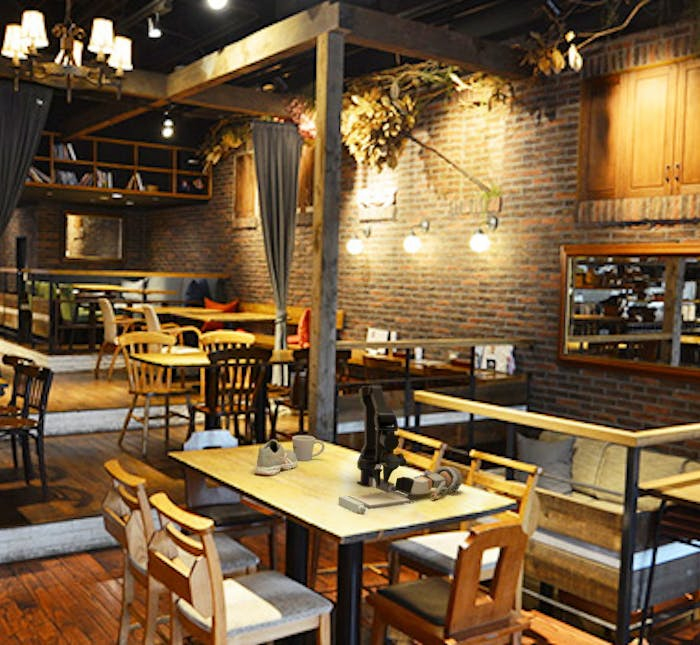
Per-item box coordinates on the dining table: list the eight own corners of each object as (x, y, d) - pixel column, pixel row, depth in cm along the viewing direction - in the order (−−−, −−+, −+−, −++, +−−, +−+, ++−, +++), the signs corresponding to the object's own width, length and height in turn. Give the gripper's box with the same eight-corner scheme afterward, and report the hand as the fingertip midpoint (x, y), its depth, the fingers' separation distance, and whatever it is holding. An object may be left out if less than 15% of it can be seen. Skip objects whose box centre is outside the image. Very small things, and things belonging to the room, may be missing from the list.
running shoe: (303, 464, 357) (304, 434, 356) (276, 478, 329) (277, 445, 328) (279, 461, 360) (280, 431, 360) (250, 475, 332) (252, 442, 332)
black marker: (368, 485, 311) (369, 477, 311) (375, 484, 312) (375, 476, 312) (391, 494, 299) (391, 485, 299) (397, 493, 300) (398, 485, 300)
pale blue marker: (338, 504, 294) (338, 496, 294) (345, 503, 296) (345, 495, 296) (360, 515, 282) (360, 506, 282) (367, 514, 284) (367, 505, 284)
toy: (415, 506, 298) (469, 499, 318) (420, 477, 297) (473, 471, 317) (389, 493, 309) (442, 487, 329) (393, 465, 308) (446, 460, 328)
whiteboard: (369, 508, 290) (369, 503, 290) (346, 498, 303) (346, 493, 302) (413, 502, 301) (414, 498, 301) (389, 493, 314) (390, 488, 313)
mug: (292, 456, 372) (293, 434, 371) (324, 458, 371) (325, 436, 371) (289, 461, 361) (290, 439, 361) (323, 463, 361) (324, 440, 360)
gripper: (375, 450, 294) (373, 493, 294) (416, 446, 304) (414, 487, 305) (358, 444, 303) (356, 485, 304) (398, 441, 313) (396, 481, 314)
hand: (381, 485), depth 306 cm, fingers closed on black marker, 3 cm apart
